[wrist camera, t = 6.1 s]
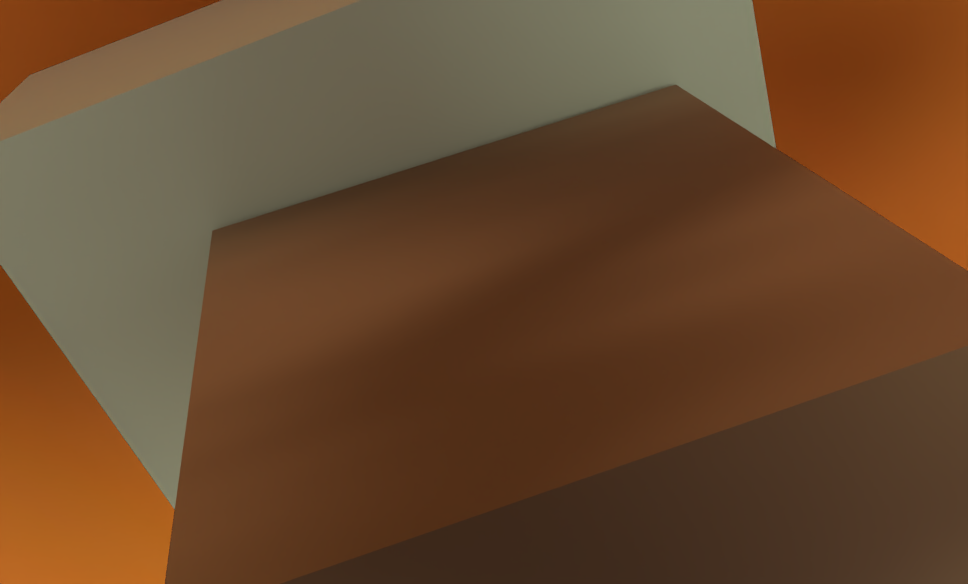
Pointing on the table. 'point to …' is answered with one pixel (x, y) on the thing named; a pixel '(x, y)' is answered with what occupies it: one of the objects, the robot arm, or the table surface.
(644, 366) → the walnut cube
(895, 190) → the table surface
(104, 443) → the table surface
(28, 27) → the table surface
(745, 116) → the sage block
